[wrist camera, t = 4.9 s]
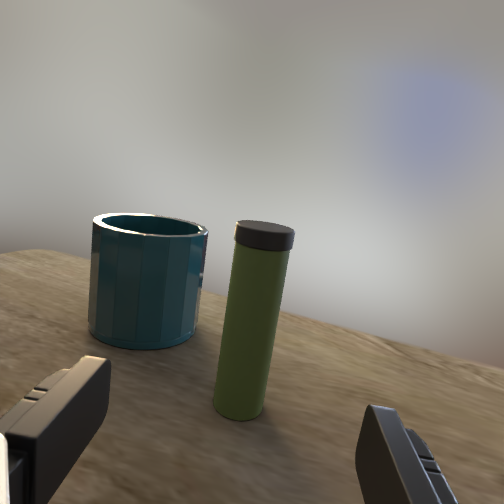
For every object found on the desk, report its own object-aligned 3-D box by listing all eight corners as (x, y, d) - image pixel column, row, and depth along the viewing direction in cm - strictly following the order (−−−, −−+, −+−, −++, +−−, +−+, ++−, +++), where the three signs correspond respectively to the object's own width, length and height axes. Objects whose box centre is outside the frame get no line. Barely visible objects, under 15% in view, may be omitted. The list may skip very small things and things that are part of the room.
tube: (254, 387, 25) (281, 223, 22) (271, 419, 22) (305, 234, 19) (206, 389, 24) (229, 217, 21) (218, 424, 21) (246, 229, 18)
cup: (187, 305, 36) (197, 219, 34) (204, 348, 29) (218, 240, 27) (92, 303, 33) (97, 209, 32) (82, 351, 26) (88, 230, 24)
